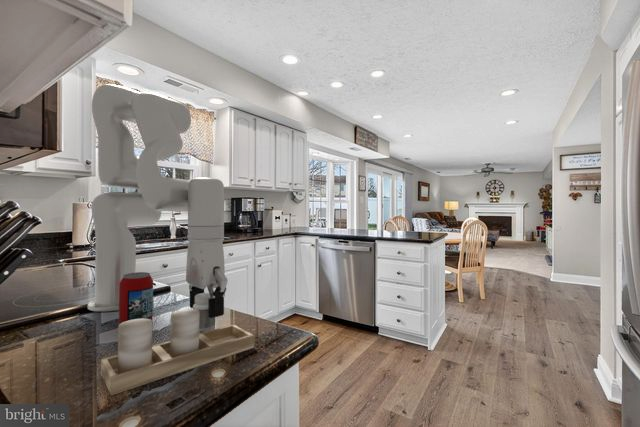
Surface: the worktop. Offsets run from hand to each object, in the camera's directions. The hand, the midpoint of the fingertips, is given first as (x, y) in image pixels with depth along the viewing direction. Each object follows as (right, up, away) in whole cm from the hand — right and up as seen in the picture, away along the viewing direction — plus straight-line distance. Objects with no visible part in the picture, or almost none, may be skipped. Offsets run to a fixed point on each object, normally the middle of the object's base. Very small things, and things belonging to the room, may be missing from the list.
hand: (206, 311), depth 69 cm
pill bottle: (-1, -5, 0) cm, 5 cm away
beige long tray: (+1, -5, -12) cm, 13 cm away
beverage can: (-18, -5, +3) cm, 18 cm away
